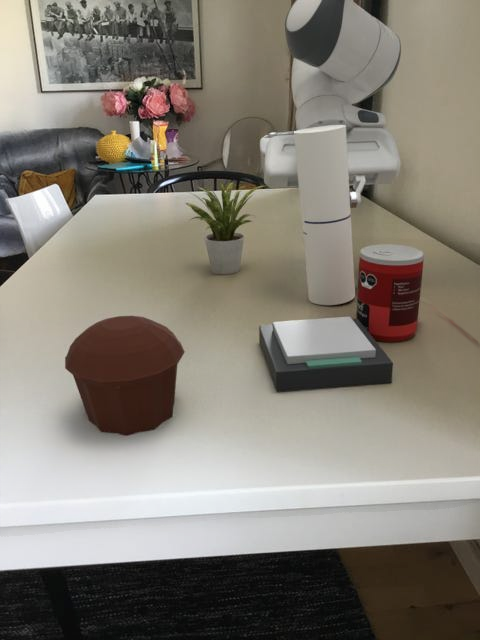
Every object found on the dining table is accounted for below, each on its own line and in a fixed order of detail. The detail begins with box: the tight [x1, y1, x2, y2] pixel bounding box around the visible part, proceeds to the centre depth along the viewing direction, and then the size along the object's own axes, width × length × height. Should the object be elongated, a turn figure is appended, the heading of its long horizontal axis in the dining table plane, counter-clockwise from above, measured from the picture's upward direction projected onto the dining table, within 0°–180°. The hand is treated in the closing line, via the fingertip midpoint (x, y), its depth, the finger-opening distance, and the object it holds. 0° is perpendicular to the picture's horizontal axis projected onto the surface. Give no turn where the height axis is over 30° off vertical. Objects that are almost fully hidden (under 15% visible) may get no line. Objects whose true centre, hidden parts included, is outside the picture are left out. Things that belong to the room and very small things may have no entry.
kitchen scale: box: [258, 316, 394, 393], centre depth 68 cm, size 13×13×4 cm
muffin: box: [64, 315, 185, 437], centre depth 57 cm, size 12×11×10 cm
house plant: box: [185, 180, 268, 275], centre depth 101 cm, size 14×14×16 cm
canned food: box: [355, 243, 425, 343], centre depth 74 cm, size 8×8×11 cm
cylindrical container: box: [294, 125, 356, 306], centre depth 83 cm, size 7×7×25 cm
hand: (336, 206), depth 82 cm, fingers closed on cylindrical container, 4 cm apart
